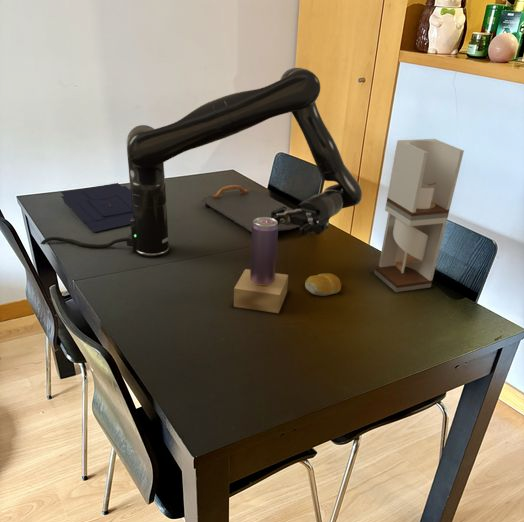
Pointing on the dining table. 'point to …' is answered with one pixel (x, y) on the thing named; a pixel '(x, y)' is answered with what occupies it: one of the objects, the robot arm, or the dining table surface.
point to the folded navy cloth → (101, 205)
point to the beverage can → (263, 250)
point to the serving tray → (245, 206)
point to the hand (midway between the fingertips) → (285, 228)
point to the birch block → (260, 293)
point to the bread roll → (323, 284)
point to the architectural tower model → (417, 211)
